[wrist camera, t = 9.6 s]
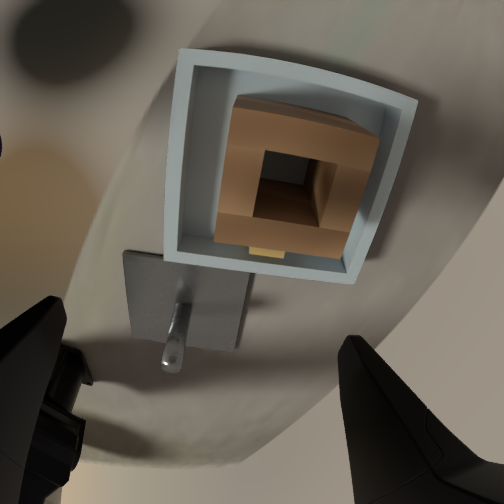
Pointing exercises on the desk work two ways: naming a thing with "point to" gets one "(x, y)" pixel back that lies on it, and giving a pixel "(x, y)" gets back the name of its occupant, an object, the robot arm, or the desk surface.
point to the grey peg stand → (183, 305)
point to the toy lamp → (0, 146)
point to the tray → (268, 156)
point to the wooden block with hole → (290, 194)
